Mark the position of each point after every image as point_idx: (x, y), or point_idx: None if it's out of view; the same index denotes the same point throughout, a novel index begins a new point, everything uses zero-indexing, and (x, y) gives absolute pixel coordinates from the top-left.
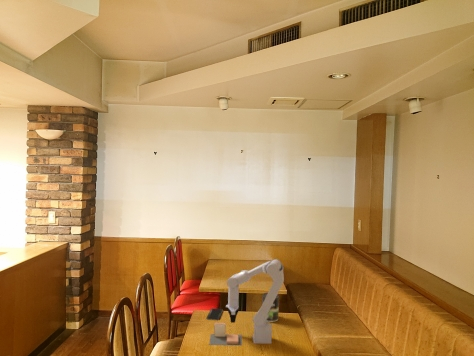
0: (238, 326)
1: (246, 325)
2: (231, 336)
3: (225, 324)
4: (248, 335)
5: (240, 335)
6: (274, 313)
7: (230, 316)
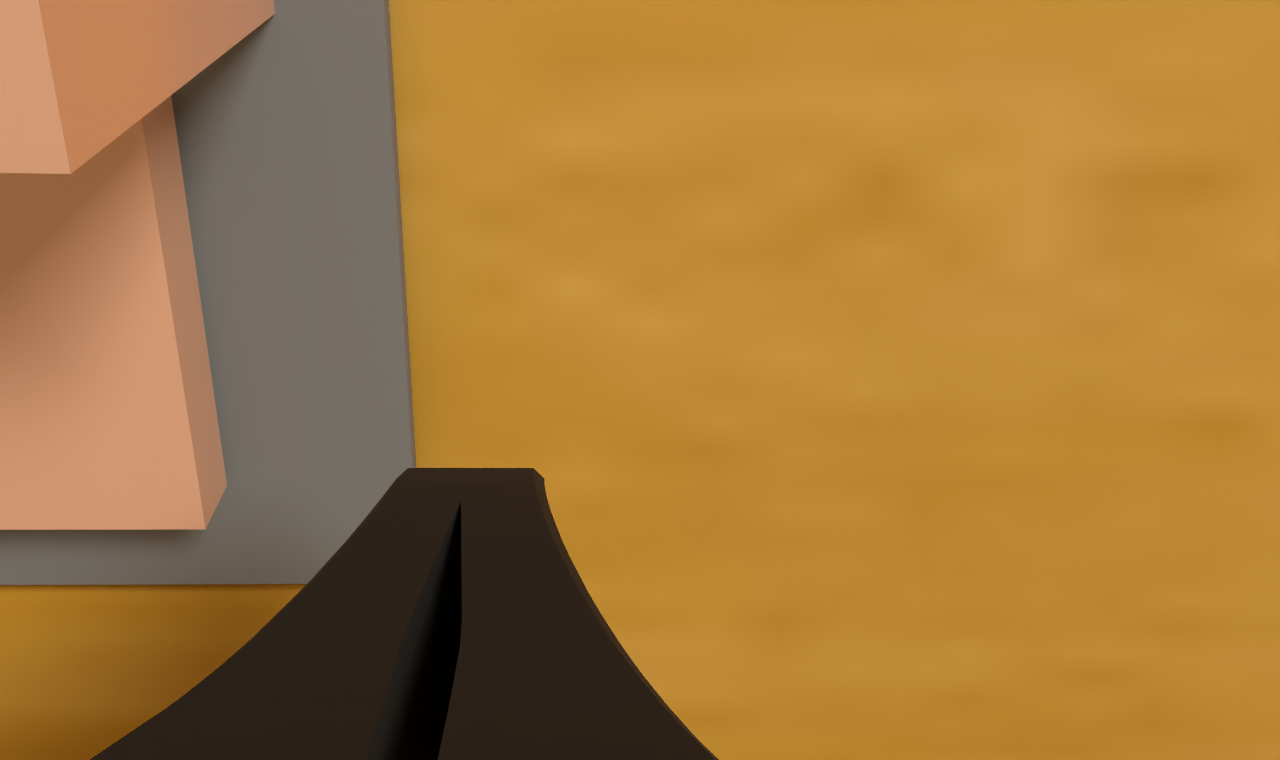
0: (1038, 485)
1: (1065, 702)
2: (9, 296)
3: (87, 146)
4: None
5: None
6: None
7: (203, 708)
